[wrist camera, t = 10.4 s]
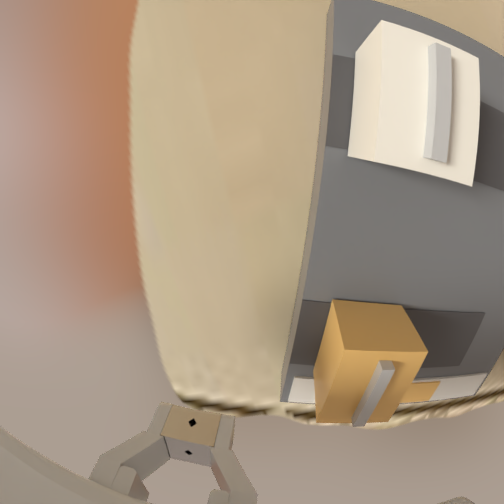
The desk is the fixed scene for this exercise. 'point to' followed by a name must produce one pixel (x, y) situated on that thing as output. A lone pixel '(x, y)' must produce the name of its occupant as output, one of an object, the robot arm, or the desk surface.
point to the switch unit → (403, 228)
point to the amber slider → (365, 362)
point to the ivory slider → (415, 104)
